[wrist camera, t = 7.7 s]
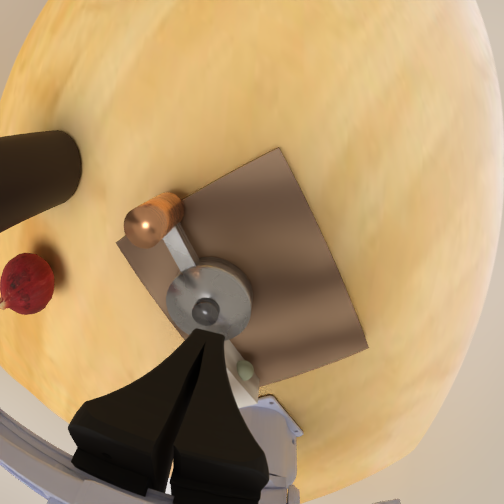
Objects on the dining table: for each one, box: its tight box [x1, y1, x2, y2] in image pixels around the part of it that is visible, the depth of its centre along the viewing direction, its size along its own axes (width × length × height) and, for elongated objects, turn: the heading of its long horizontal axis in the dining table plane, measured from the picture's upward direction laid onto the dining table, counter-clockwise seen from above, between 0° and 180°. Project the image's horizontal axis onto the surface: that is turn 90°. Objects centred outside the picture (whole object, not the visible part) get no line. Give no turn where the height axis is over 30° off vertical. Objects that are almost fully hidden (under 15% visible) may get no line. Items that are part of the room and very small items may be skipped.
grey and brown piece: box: [124, 192, 253, 341], centre depth 18 cm, size 11×6×4 cm, turn 24°
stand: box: [116, 147, 369, 408], centre depth 21 cm, size 18×14×4 cm
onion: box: [0, 253, 54, 315], centre depth 20 cm, size 6×6×8 cm
